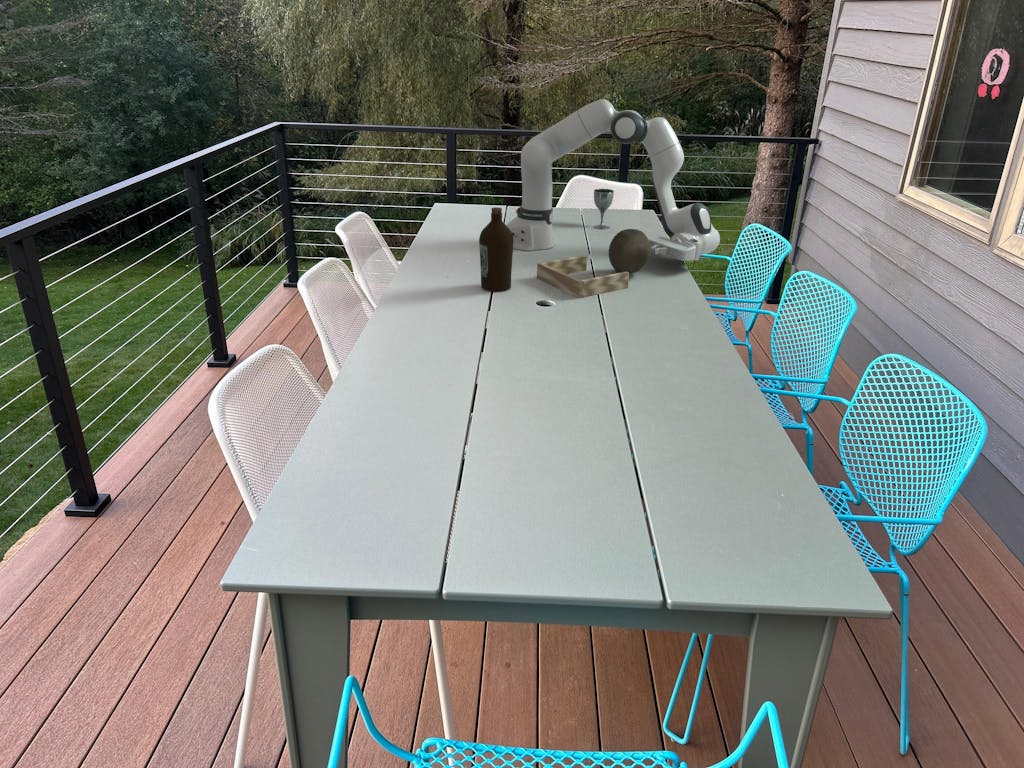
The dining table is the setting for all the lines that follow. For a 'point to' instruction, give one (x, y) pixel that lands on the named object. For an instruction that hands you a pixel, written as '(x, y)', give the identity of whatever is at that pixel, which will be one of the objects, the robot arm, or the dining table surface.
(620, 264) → the cantaloupe
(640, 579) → the dining table surface
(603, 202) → the wine glass
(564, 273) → the box
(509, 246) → the olive oil
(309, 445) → the dining table surface
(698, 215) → the robot arm
